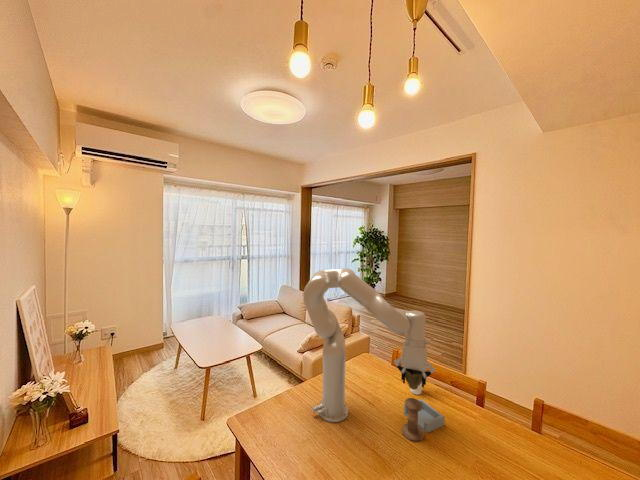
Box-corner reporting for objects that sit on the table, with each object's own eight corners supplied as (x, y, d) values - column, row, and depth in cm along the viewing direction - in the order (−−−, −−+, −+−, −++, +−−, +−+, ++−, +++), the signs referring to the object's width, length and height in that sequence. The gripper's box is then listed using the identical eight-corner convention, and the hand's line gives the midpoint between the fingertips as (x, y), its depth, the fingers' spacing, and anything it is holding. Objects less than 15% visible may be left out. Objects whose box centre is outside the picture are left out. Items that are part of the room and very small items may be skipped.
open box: (426, 433, 99) (426, 424, 99) (404, 413, 109) (404, 404, 109) (444, 425, 103) (444, 416, 103) (420, 406, 114) (421, 398, 114)
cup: (424, 386, 108) (425, 367, 108) (420, 395, 102) (421, 375, 102) (406, 380, 112) (407, 362, 112) (401, 388, 106) (402, 369, 106)
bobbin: (412, 444, 93) (413, 412, 93) (397, 429, 100) (398, 399, 100) (427, 437, 96) (428, 406, 96) (412, 424, 103) (413, 394, 103)
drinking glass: (424, 397, 120) (425, 365, 120) (409, 395, 122) (410, 364, 121) (421, 388, 127) (422, 358, 127) (407, 386, 128) (408, 357, 128)
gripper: (437, 341, 107) (435, 383, 107) (393, 334, 113) (392, 374, 113) (438, 349, 100) (436, 394, 100) (392, 341, 106) (390, 383, 106)
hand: (413, 383), depth 107 cm, fingers closed on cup, 6 cm apart
